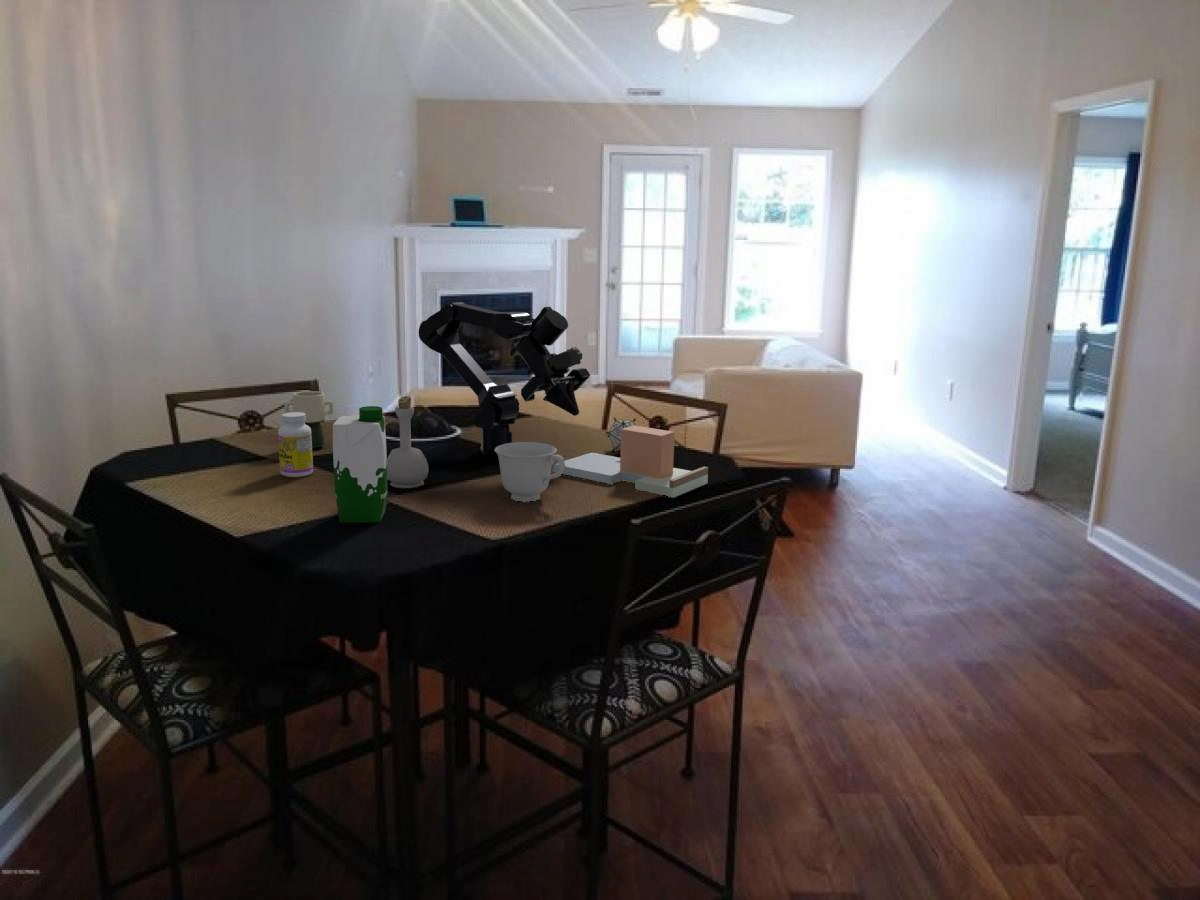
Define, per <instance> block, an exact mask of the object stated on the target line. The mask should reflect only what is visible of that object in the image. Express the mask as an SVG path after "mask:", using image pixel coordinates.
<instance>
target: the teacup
mask: <svg viewBox="0 0 1200 900" xmlns="http://www.w3.org/2000/svg"><path fill="white" fill-rule="evenodd" d="M495 452H496V453H497V456H498V463H499V469H500V477H501V482H502V485H503V488H504V489H505V490H506V491H507V492H509V493H511V496H510V499H511V500H512V499H513V500H512V501H514V500H515V502H517V501H523V502H522V503H530V502H529V501H534V502H537V501H536V500H538V499H539V500H540V499H541V495H540V494H542V492H544V491H545V490H547V488H548V487H549V484H550V481H551V480H552V479H556V478H559V477H561V476H562V475H561V474H562V473H563V472H564V469H565V462H564V461H565V460H564V458H563V456H562V455H560V454H556V453H557V452H558V450H557V448H556V447H555V446H554V445H552V444H548V443H544V442H537V441H516V442H512V443H507V444H502V445H499V446H497V447H496V448H495ZM555 461H557V463H559V469H558V471H557V472H556V473H552V466H554V464H555ZM551 473H552V474H551ZM539 500H538V501H539ZM526 501H527V502H526Z"/></svg>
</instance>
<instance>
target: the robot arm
mask: <svg viewBox="0 0 1200 900" xmlns="http://www.w3.org/2000/svg"><path fill="white" fill-rule="evenodd" d="M530 316H531V315H530V314H529V313H528V312H525V311H503V312H502V311H496V310H492V309H487V308H483V307H480V306H476V305H472V304H466V303H464V302H463V301H459V302H447V303H446V304H445V305H444V306H443V307H442V308H441V309H439V310H438V311H437V312H435V313H433V314H432V315H430V316H429V317H428V318H426V320H423V321H422V322H420V325H419V327H418V338H419V340H420V341H421V342H422V343H423V344H424V345H425V346H426V347H428V348H429V349H430V350H432V351H433V352H436V353H438V354H441V355H442V356H443V357H444V358H445V359H446V360H447V362H448V364H450V366H452V368H453V369H454V370H455V371H456V373H457V374H459V375H458V376H460V378H462V380H463V381H464V382H465V383H466V384H467V386H468V387H469V388H470V389H471V390H472V391H473V393H474V394H475V395H476V397H477V401H478V407H479V409H480V411H479V412H478V413H477V414H476V415H475V416H474V417H473V421H474V424H475V427H476V428H479V429H481V430H480V435H481V436H480V437H481V438H480V439H481V441H480V442H481V445H480V447H479V448H480V451H481V453H482V454H483V455H496V454H497V453H496V452H495V448H496V447H497V446H499V445H502V444H507V443H513V432H512V431H511V429H510V425H515V423H516V419H517V416H518V415H519V412H520V402H519V399H518V398H517V396H518V394H516V393H515V392H514V391H512V389H511V388H510V386H509V385H508V384H506V383H501V384H496V383H495V382H493V380H492V379H491V378H490V377H489V376H488V375H487V373H486V372H485V371H484V370H483V368H481V366H480V365H479V364H478V362H476V360H475V359H474V358H473V357H472V355H470V353H469V352H468V351H467V349H465V348H464V346H463V345H462V344H461V342H460V338H459V332H458V330H459V329H460V328H461V327H462V323H465V324H470V325H474V326H478V327H482V328H484V329H485V328H486V329H488V330H491V331H492V332H493V333H494V334H495V335H497V336H499V337H500V338H503V339H505V340H513V339H518V341H517V342H514V343H511V349H510V351H509V355H510V357H515V356H520V358H522V359H523V361H524V363H525V364H526V366H527V367H528V368H529V369H528V370H527V371H526V372H527V374H528V376H532V375H533V376H532V377H530V379H529V380H528V381H527V382H526V383H525V384H524V386H522V388H521V389H520V390H521V391H520V395H521V397H522V399H523V400H524V402H525V403H527V402H532V401H534V400H535V399H536V398H535V397H536V395H535V393H538V392H543V391H544V394H545V396H544V397H543V398H542V400H543V401H544V402H548V403H550V404H552V405H554V406H556V407H557V408H560V409H562V410H564V411H565V412H567V413H569V414H570V415H572V416H575V417H576V416H578V415H579V414H580V410H579V405H578V402H577V398H576V395H575V392H576V391H578V390H579V389H580V388H581V387H582V386H583V385H584V384H585V382H587V381H588V379H590V377H591V374H590V372H589V370H588V369H587V368H584V367H581V368H574V369H572V370H571V371H570V369H569V368H572V367H574V366H576V365H580V364H581V363H582V361H581V360H582V359H583V353H582V352H581V351H580V350H579V349H578V347H577V346H573V347H571V348H568V349H566V350H565V351H562V352H560V353H558V354H557V353H555V352H554V353H551V352H550V351H549V350H548V348H547V346H552V345H554V344H555V343H556V341H558V339H559V338H560V337H561V336H562V335H563V334H564V333H565V331H566V330H567V329H568V327H569V323H568V322H569V321H568V320H567V318H566V317H565V316H564V315H562V314H561V313H560V312H558V311H557V310H554V309H552V306H550V305H549V306H544V307H543V308H542V309H541V310H540V312H539V314H538V315H537V316H536V317H535V318H532V317H530ZM569 371H570V372H569ZM565 375H566V376H565ZM497 455H498V454H497Z"/></svg>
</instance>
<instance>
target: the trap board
mask: <svg viewBox="0 0 1200 900" xmlns="http://www.w3.org/2000/svg"><path fill="white" fill-rule="evenodd" d="M564 462H565V469H564V472H563V473H562V474H567V475H572V476H577V477H582V478H587V479H592V480H596V481H601V482H606V483H614V482H616V481H619V480H626V481H630V482H635V484H634V487H635V489H639V490H644V491H648V492H653V493H658V494H664V495H666V496H668V497H667V498H673V499H674V498H676V497H679V496H682V495H683V494H686V493H688V492H691V491H693V490H696V489H698V488H700V487H703V486H705V485H707V484H708V481H709V480H708V479H709V466H702V467H698V468H697V469H694V470H688V469H684V468H683V469H682V468H677V467H673V474H671V475H669V476H666V477H664V478H661V479H659V478H654V477H649V476H644V475H639V474H634V473H629V472H624V471H620V457H617V456H613V455H607V454H602V453H596V452H590V453H586V454H583V455H579V456H576V457H573V458H570V459H567V460H564ZM558 469H559V463H558V462H557V463H554V464H553V473H554V472H557V471H558ZM635 489H634V490H635ZM666 496H665V497H666Z"/></svg>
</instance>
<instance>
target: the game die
mask: <svg viewBox="0 0 1200 900" xmlns="http://www.w3.org/2000/svg"><path fill="white" fill-rule="evenodd" d="M636 419H637V417H634V418H633V420H629V419H627V420H625V419H617V418H616V417H615V416H614V417H613V421H614V422H613V424H612V425H611V427H610V429H609V431H605V434H606V435H607V437H608V438H609V439H610V442H611V445H612V450H614V451H616V450H617V451H619V450H620V451H621V429H623V428H627V427H630V426H634V425H635V426H637V425H636V422H635V421H636ZM612 450H611V451H612Z"/></svg>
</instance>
